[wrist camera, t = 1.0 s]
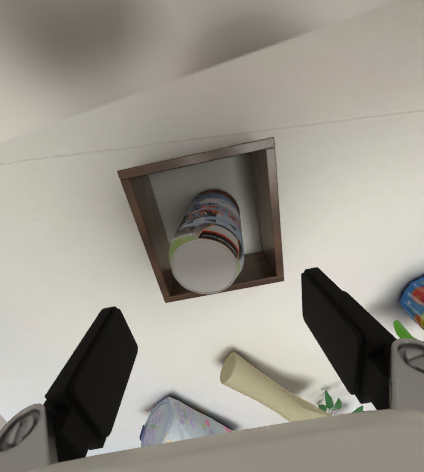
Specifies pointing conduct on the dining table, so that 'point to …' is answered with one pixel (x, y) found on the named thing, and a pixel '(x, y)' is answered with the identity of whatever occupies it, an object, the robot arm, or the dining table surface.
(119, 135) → the dining table surface
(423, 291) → the snack cup
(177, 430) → the pencil case
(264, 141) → the open wooden box
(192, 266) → the beverage can
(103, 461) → the robot arm
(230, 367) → the flower vase
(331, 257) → the dining table surface
